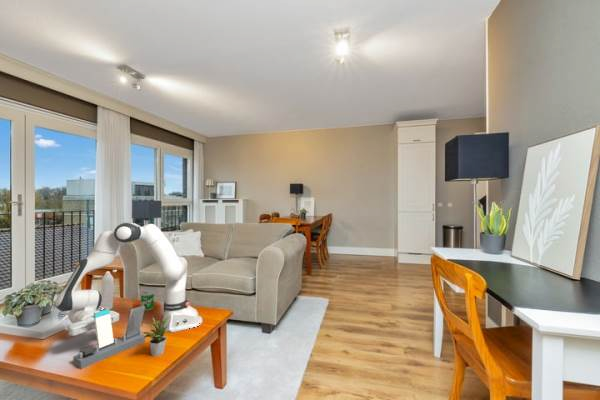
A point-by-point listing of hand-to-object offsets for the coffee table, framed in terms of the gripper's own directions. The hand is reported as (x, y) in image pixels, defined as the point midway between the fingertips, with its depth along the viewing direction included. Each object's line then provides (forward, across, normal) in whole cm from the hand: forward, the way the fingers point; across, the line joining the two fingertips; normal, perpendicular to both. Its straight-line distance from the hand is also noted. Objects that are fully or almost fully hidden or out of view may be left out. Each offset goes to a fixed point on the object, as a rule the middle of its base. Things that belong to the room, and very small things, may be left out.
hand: (102, 327), depth 128 cm
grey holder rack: (+5, +2, +12) cm, 13 cm away
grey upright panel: (+5, +11, +8) cm, 14 cm away
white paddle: (+5, 0, +8) cm, 9 cm away
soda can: (-32, +39, +12) cm, 52 cm away
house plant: (+23, +14, +12) cm, 30 cm away
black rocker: (+5, -7, +7) cm, 11 cm away
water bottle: (-55, +27, +12) cm, 62 cm away
